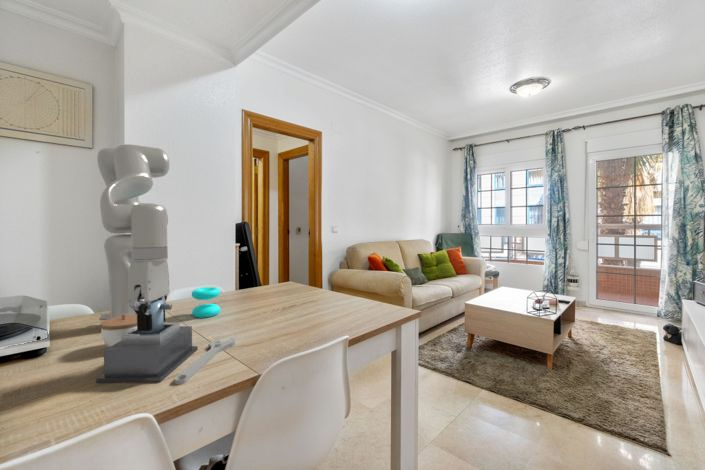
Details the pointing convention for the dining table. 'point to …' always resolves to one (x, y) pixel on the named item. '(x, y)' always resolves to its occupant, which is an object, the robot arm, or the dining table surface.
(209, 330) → the dining table surface
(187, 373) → the adjustable wrench
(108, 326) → the lidded jar
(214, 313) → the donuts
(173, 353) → the grey open box
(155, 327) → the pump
